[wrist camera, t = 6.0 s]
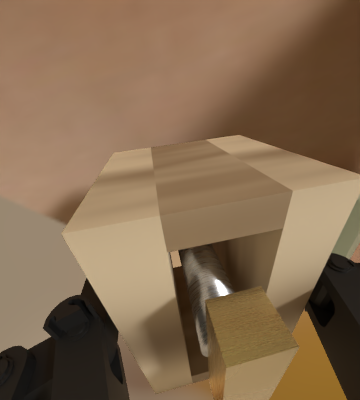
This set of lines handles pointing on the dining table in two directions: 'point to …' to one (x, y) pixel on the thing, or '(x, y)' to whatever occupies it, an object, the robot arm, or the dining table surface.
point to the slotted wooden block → (204, 238)
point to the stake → (235, 330)
